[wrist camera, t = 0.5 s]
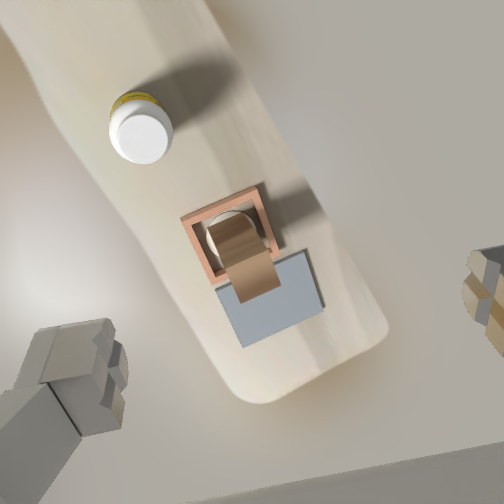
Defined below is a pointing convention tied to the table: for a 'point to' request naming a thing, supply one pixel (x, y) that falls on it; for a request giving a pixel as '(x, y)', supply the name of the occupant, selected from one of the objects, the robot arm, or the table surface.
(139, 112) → the supplement bottle
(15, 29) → the table surface
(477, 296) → the robot arm
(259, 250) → the walnut block
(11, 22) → the table surface
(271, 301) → the rubber mat
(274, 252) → the terracotta frame
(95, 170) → the table surface
